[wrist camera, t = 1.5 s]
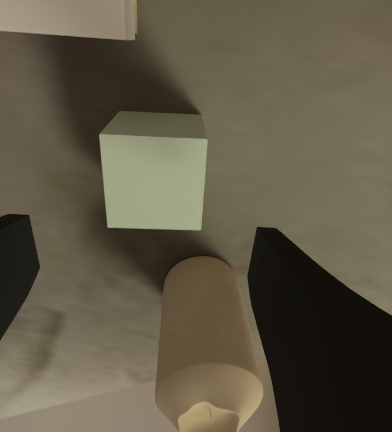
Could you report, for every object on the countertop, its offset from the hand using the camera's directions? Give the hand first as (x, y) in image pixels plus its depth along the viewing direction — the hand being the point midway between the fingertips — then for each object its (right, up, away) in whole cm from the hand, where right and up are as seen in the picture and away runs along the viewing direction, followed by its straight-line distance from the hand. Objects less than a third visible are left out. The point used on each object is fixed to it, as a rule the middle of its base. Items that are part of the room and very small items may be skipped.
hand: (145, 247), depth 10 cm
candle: (+2, -4, +14) cm, 14 cm away
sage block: (0, +5, +8) cm, 10 cm away
